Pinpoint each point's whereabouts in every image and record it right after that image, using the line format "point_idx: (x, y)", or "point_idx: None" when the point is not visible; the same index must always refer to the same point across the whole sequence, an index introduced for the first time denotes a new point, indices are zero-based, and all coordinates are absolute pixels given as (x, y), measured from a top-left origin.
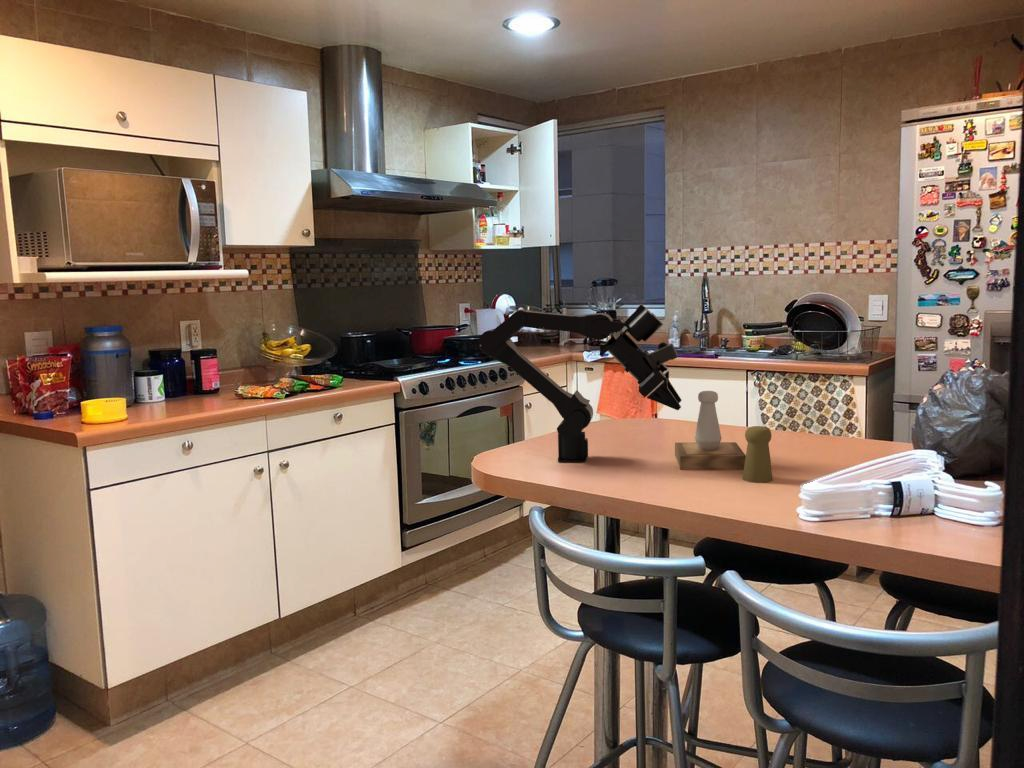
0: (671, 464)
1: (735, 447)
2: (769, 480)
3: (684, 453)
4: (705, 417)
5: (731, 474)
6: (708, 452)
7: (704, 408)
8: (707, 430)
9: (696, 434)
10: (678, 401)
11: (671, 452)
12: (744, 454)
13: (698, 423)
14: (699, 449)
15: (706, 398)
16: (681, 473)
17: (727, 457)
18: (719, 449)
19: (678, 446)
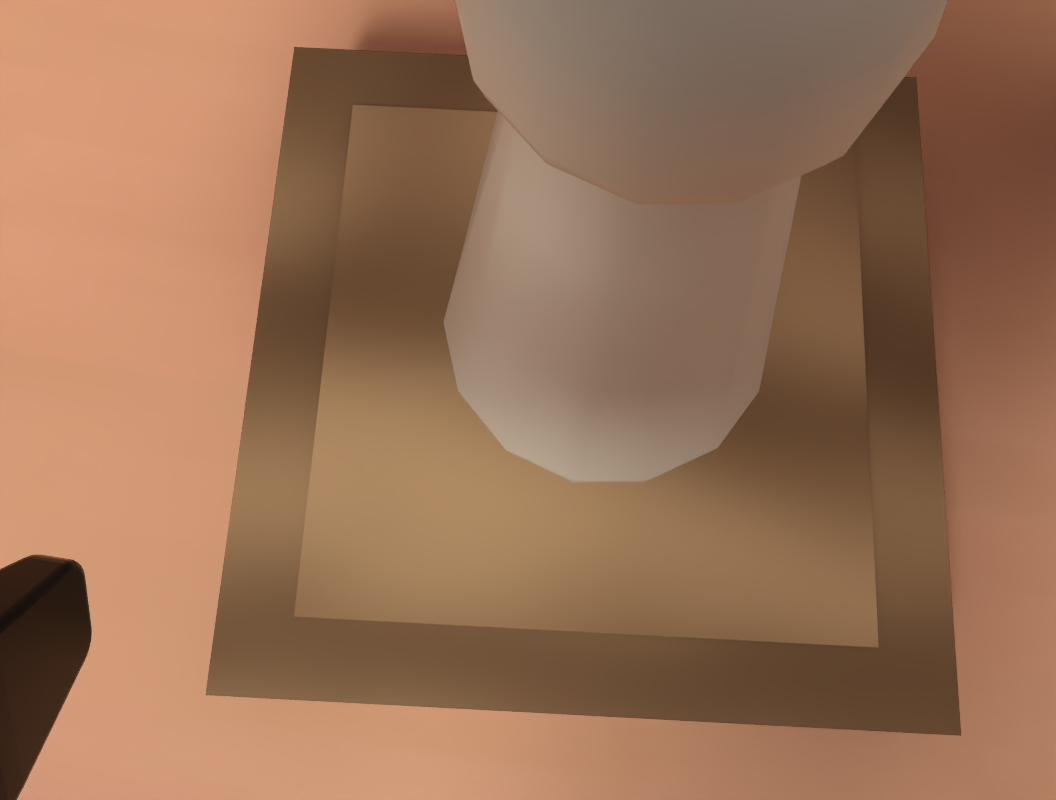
0: (668, 790)
1: None
2: None
3: (815, 663)
4: (777, 250)
5: (1043, 291)
6: (798, 394)
7: (781, 185)
8: (773, 307)
9: (651, 457)
10: (69, 642)
11: (109, 712)
12: None
13: (668, 386)
14: None
15: (940, 17)
16: (1047, 737)
17: (922, 244)
18: None
19: (434, 681)
